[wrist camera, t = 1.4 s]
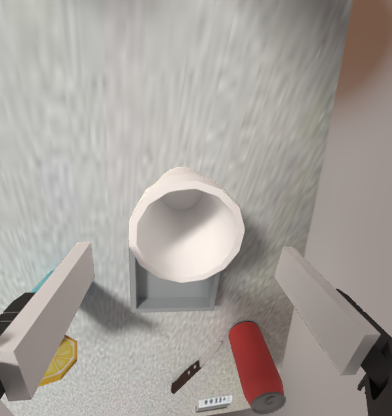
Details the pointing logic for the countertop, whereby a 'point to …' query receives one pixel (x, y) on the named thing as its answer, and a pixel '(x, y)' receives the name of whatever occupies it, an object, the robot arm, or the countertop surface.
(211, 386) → the countertop surface
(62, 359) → the cup
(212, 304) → the tray
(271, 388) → the beer can
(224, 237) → the foam cup
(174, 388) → the kitchen knife
